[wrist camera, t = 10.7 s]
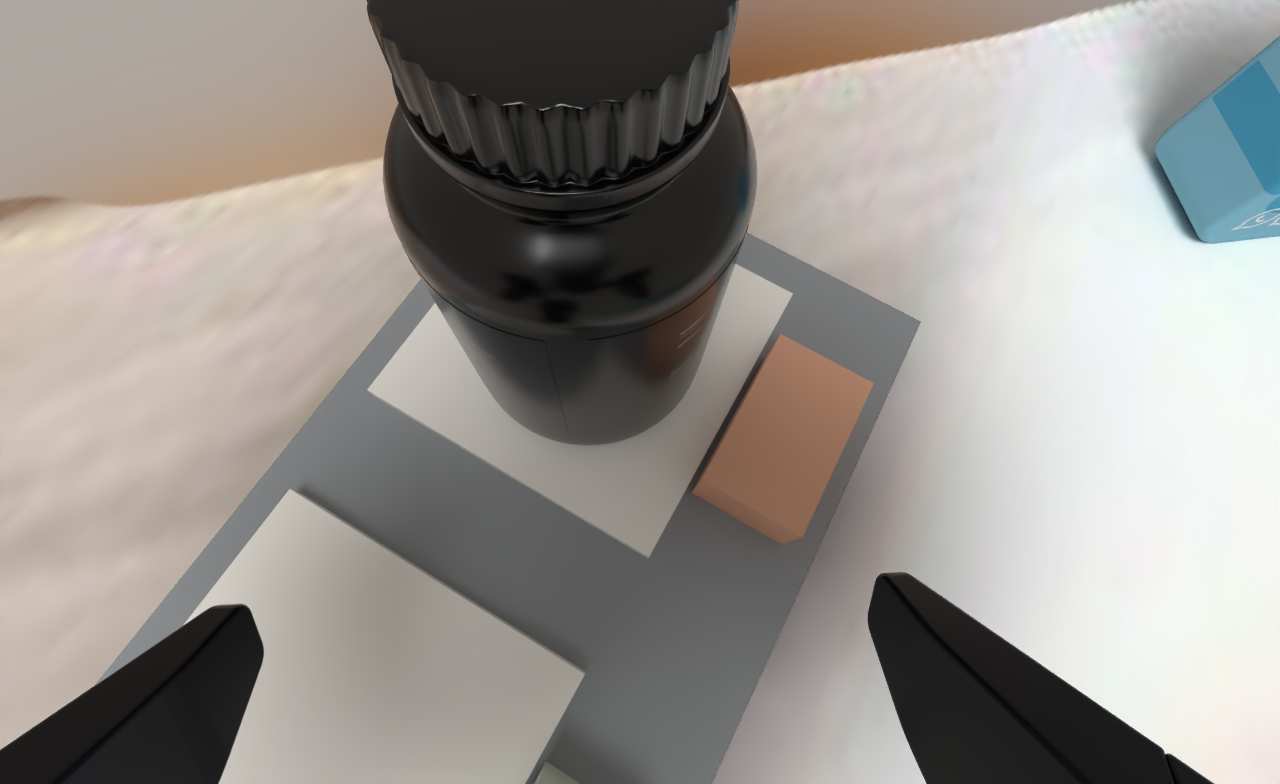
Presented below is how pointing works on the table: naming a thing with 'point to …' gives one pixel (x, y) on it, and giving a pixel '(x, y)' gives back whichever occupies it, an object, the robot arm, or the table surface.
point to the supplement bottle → (570, 194)
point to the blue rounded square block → (1230, 155)
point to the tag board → (541, 554)
